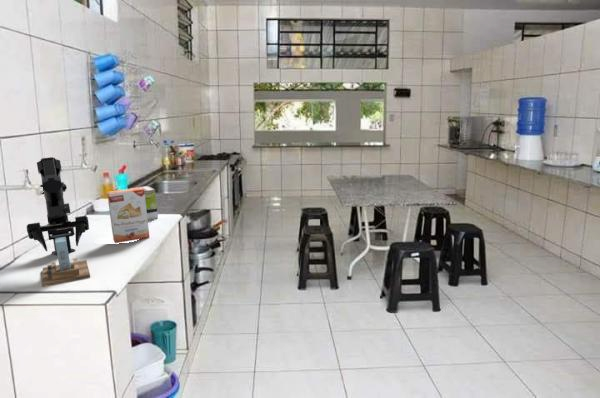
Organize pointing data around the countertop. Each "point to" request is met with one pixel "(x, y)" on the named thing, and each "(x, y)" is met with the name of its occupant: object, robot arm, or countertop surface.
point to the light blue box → (62, 253)
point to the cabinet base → (65, 273)
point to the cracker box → (128, 214)
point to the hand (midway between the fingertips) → (61, 248)
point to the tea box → (150, 202)
